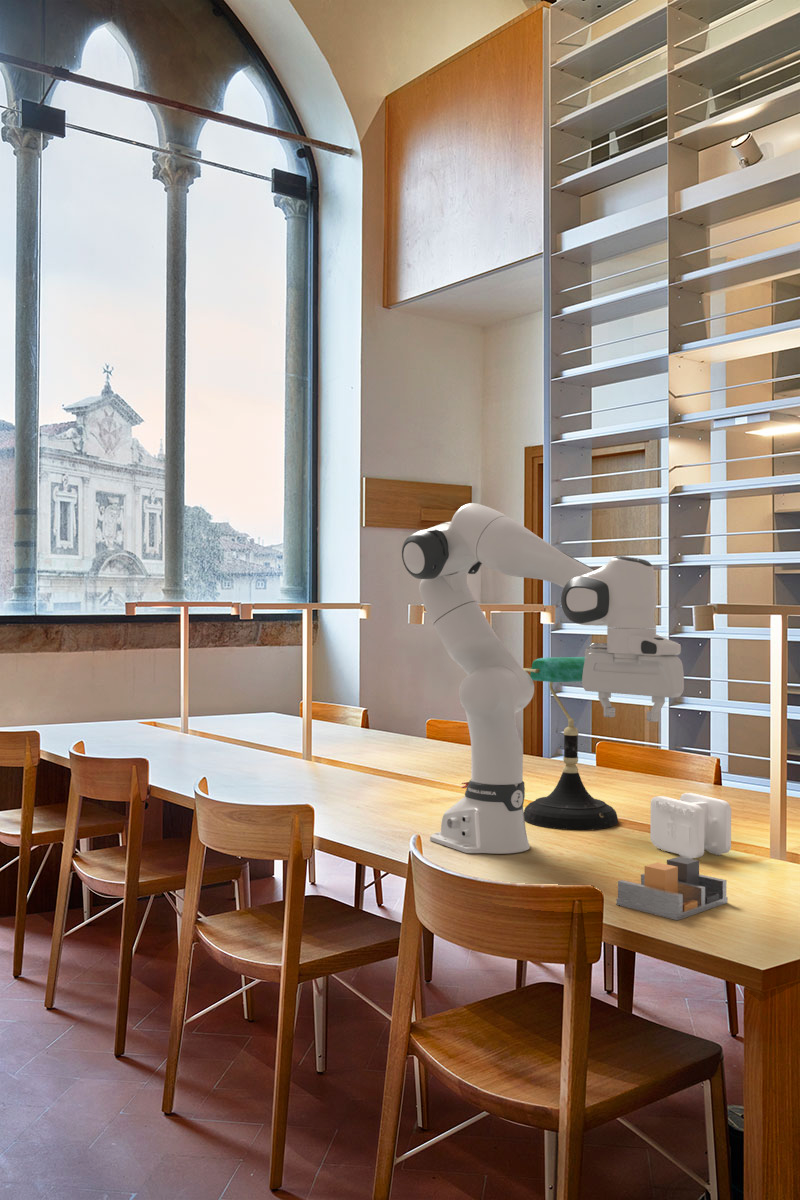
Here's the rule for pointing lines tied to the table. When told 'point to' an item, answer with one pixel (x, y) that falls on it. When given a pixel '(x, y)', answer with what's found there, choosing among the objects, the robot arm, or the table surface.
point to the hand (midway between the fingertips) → (630, 719)
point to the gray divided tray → (673, 897)
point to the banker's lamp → (567, 765)
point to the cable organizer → (691, 825)
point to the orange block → (662, 877)
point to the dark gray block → (686, 869)
